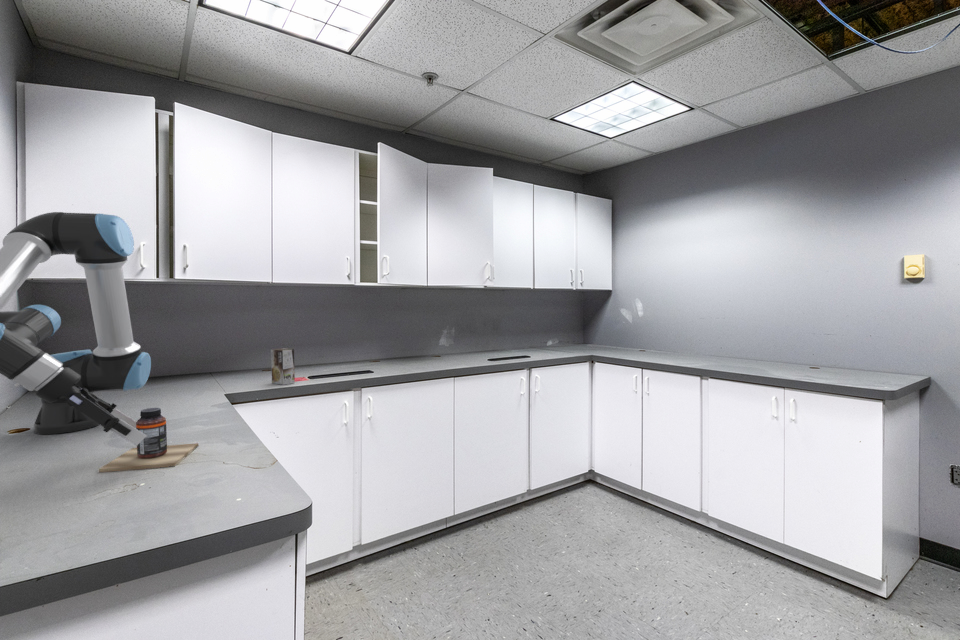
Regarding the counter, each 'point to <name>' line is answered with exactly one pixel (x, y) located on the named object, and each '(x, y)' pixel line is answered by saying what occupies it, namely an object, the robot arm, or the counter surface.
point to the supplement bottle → (152, 433)
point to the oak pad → (149, 459)
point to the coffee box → (282, 366)
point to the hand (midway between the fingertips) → (138, 434)
